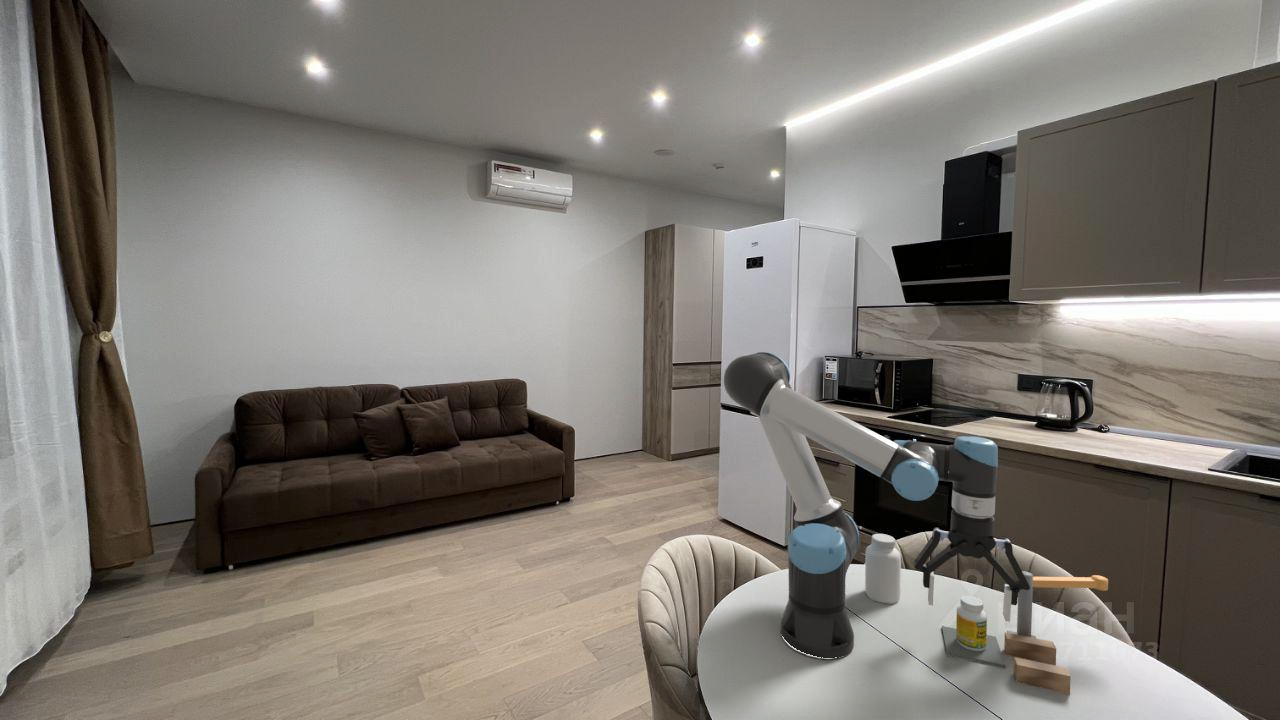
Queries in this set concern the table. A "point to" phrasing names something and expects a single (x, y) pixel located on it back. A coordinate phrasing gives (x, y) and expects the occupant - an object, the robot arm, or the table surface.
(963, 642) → the supplement bottle
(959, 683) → the table surface
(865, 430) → the robot arm
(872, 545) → the pill bottle
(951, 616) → the table surface
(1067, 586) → the grey orange l-shaped piece
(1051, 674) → the wooden block set
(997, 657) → the mat
